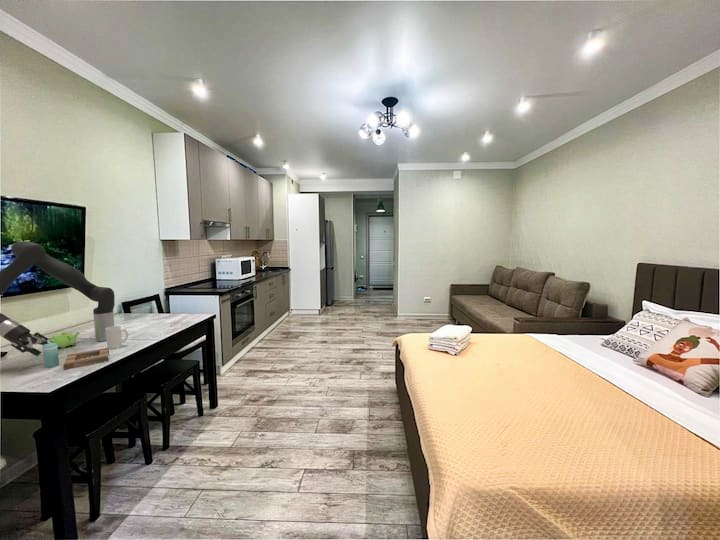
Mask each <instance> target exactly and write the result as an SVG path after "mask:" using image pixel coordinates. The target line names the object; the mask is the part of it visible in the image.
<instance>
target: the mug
mask: <svg viewBox="0 0 720 540" xmlns="http://www.w3.org/2000/svg"><path fill="white" fill-rule="evenodd" d="M122 332H124V333H125V337H124V339H122ZM128 338H129V331H128V330H127V329H126V328H122V326H121V325H114V326H112V327H108V328H106V339H107V341H106V348H109V350H115V349H114V348H117V349H119V348H118V347H120V348H121V347H122V346H123V345H122V343H125V342H127V340H128Z"/></svg>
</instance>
